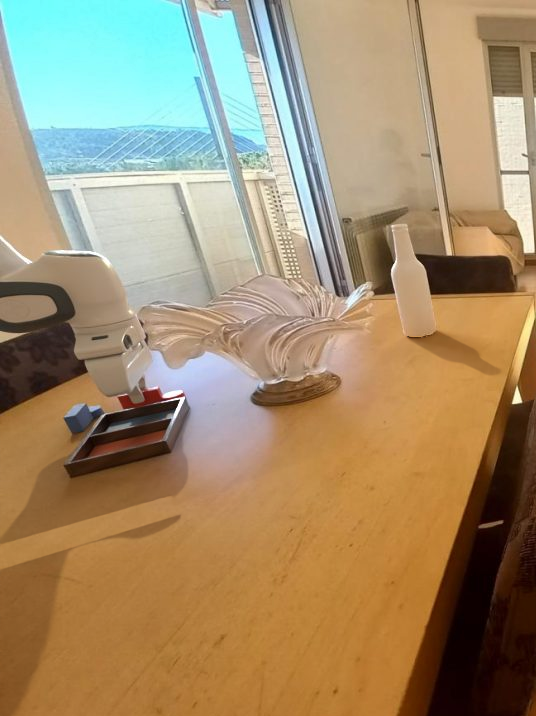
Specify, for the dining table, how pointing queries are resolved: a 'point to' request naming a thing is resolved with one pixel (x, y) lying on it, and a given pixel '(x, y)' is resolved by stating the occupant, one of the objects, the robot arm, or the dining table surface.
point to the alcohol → (411, 287)
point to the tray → (129, 436)
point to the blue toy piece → (81, 417)
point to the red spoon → (150, 397)
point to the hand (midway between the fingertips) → (141, 398)
